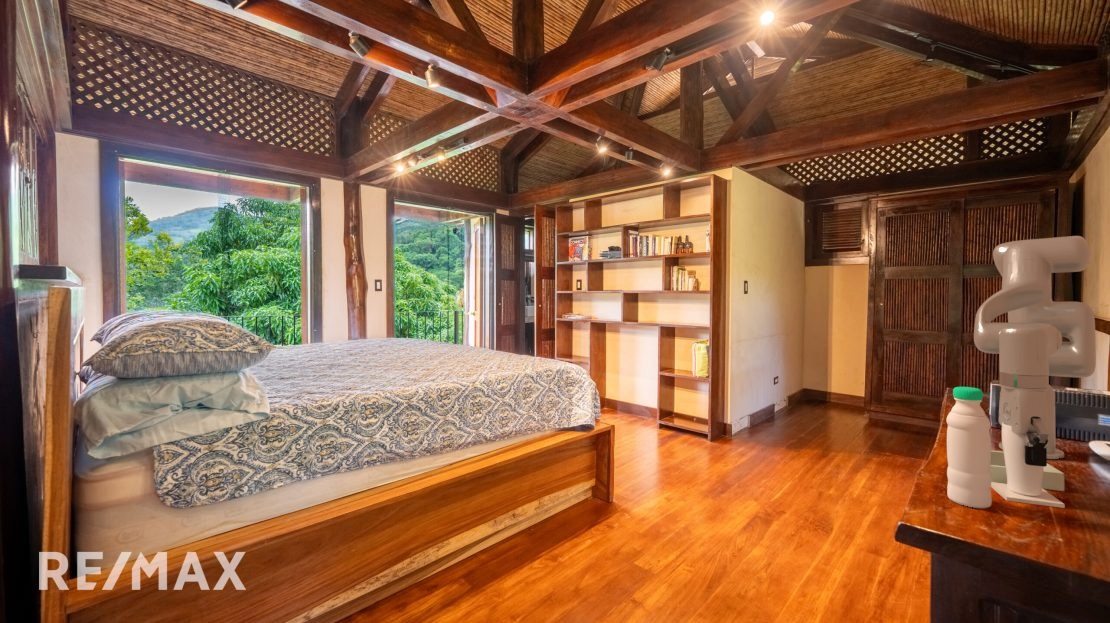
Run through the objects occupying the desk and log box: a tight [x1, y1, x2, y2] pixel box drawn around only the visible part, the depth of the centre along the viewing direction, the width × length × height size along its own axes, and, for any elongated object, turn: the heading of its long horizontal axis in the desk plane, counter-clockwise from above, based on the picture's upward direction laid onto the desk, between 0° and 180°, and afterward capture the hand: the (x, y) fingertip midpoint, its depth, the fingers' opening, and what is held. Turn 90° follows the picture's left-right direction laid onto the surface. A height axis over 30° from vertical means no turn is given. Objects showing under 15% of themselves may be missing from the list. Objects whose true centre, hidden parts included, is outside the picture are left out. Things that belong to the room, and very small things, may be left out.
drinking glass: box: [1001, 422, 1044, 496], centre depth 99 cm, size 7×7×15 cm
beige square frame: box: [990, 449, 1065, 492], centre depth 110 cm, size 14×14×4 cm
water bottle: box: [946, 386, 993, 509], centre depth 96 cm, size 7×7×25 cm
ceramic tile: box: [990, 482, 1066, 509], centre depth 99 cm, size 9×9×1 cm
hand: (1024, 457), depth 99 cm, fingers open, 9 cm apart
